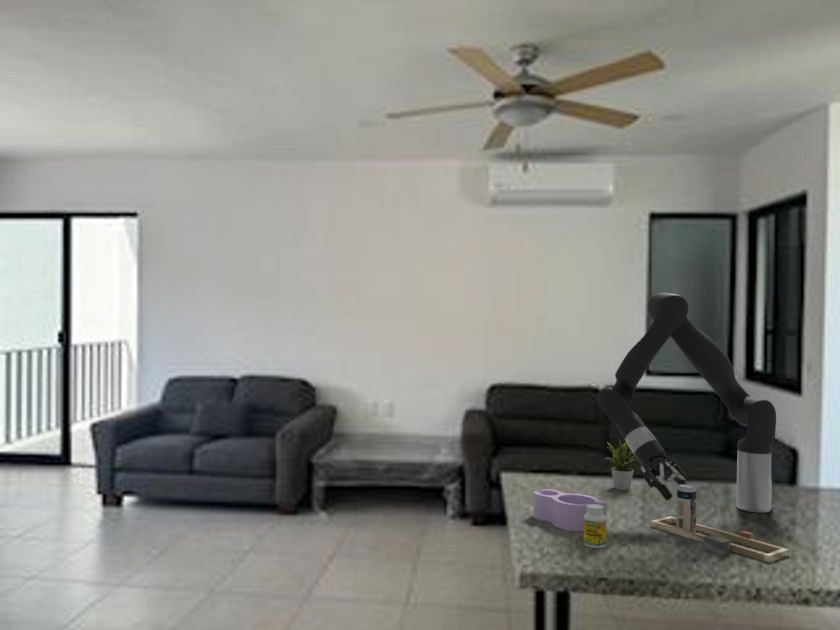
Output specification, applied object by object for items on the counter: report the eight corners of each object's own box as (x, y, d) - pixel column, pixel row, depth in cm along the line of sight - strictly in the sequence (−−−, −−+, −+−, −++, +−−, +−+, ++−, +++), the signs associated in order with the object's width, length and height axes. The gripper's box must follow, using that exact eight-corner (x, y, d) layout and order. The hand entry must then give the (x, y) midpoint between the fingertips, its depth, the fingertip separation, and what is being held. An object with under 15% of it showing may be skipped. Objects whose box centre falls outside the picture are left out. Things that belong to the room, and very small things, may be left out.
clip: (524, 518, 191) (524, 493, 191) (550, 511, 200) (551, 487, 200) (586, 536, 177) (587, 509, 177) (612, 526, 185) (612, 501, 185)
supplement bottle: (606, 543, 171) (607, 504, 171) (605, 549, 165) (606, 510, 166) (584, 540, 172) (584, 502, 172) (582, 547, 167) (583, 507, 167)
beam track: (674, 520, 192) (674, 509, 192) (792, 554, 165) (792, 542, 165) (639, 529, 183) (639, 517, 183) (758, 566, 156) (758, 553, 156)
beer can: (697, 534, 179) (698, 488, 179) (677, 533, 180) (678, 487, 180) (693, 529, 184) (694, 484, 184) (674, 528, 185) (675, 483, 185)
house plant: (652, 495, 220) (653, 444, 220) (609, 493, 221) (610, 442, 221) (639, 484, 235) (640, 436, 235) (598, 483, 235) (599, 435, 235)
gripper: (636, 440, 187) (672, 492, 177) (668, 436, 195) (704, 485, 185) (620, 456, 191) (654, 507, 182) (652, 452, 199) (686, 501, 190)
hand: (679, 496), depth 184 cm, fingers open, 8 cm apart
